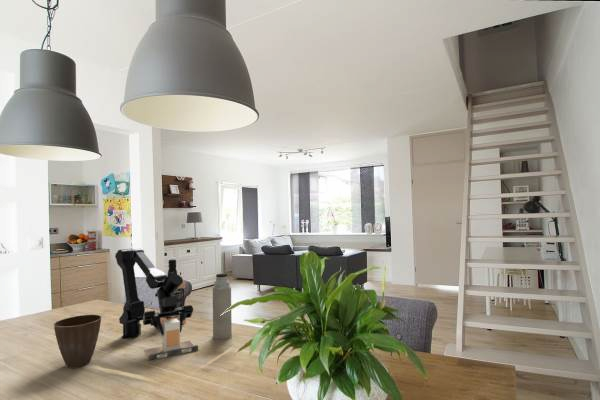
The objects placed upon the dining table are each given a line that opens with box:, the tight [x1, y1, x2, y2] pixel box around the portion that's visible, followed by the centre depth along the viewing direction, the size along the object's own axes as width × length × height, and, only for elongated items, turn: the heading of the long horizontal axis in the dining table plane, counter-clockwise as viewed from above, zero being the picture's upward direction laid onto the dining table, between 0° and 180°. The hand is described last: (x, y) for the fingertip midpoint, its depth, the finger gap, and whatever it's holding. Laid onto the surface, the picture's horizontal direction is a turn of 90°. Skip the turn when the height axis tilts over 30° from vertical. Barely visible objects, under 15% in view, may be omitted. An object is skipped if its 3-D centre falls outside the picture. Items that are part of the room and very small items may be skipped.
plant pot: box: [53, 314, 102, 369], centre depth 131 cm, size 15×15×16 cm
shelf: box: [143, 340, 199, 362], centre depth 140 cm, size 18×13×3 cm
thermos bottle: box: [212, 273, 233, 340], centre depth 156 cm, size 8×8×28 cm
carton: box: [161, 318, 181, 352], centre depth 140 cm, size 6×6×12 cm
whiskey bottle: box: [160, 258, 187, 325], centre depth 180 cm, size 10×10×32 cm
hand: (171, 333), depth 139 cm, fingers open, 6 cm apart
